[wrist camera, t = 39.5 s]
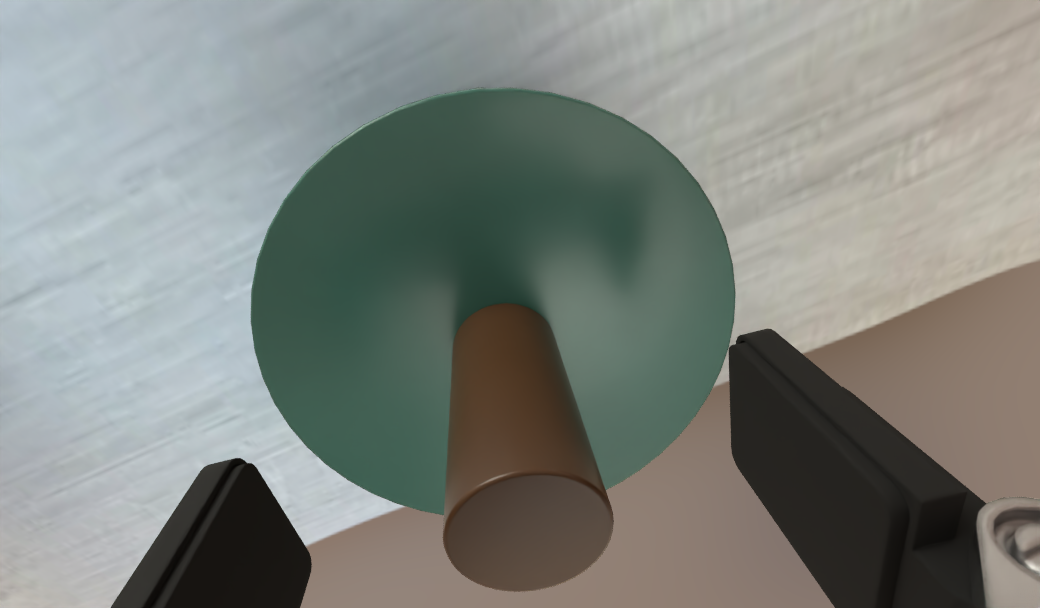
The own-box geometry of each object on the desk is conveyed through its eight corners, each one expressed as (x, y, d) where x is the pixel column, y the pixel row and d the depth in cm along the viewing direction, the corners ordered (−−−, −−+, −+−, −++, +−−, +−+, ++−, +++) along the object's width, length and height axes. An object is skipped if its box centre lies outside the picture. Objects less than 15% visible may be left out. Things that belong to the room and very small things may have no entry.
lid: (365, 526, 17) (304, 799, 11) (172, 158, 12) (-206, 267, 5) (722, 441, 17) (877, 665, 11) (706, 28, 11) (1017, -30, 5)
